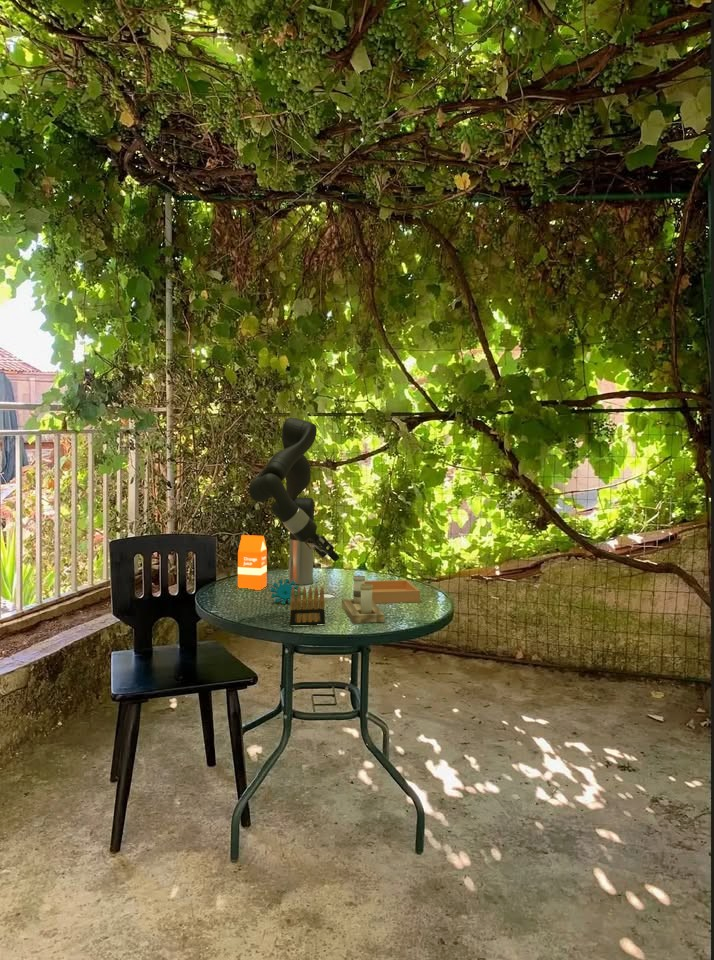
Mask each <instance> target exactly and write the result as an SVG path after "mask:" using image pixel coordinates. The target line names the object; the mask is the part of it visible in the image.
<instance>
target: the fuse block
mask: <svg viewBox="0 0 714 960" xmlns="http://www.w3.org/2000/svg"><path fill="white" fill-rule="evenodd" d="M342 607H343V608H342ZM341 608H342V609H343V611H344V610H345V611H344V612H345V614H346V613H347V614H346V615H348V616H349V617H348V616H347V617H348V619H349V618H350V619H349V620H350V622H351V621H352V622H351V623H352V624H353V623H355V624H364V623H363V622H366V623H365V624H368V623H367V622H384V623H385V613H384V612H383V611H382V610H381V608H380V607H379V606H378V605H377V604H375V603H374V601H373V600H372V614H360V610H361V604H353V598H352V599H351V598H347V599H346V598H344V599H341Z"/></svg>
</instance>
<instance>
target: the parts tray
mask: <svg viewBox="0 0 714 960" xmlns="http://www.w3.org/2000/svg"><path fill="white" fill-rule="evenodd" d="M365 584H372V585H373V589H372V600H373V601H374V603H375V604H376V605H377V604H400V603H399V602H411V603H421V590H420V589H419V588H418V587H416V585H414V584H413V583H412V582H410V581H409V580H408V579H399V580H398V579H397V580H395V579H393V580H391V579H390V580H388V579H387V580H365Z"/></svg>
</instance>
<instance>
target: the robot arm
mask: <svg viewBox="0 0 714 960" xmlns="http://www.w3.org/2000/svg"><path fill="white" fill-rule="evenodd" d="M316 437H317V426H316V424H315V423H313V422H311V421H308V420H304V419H300V418H295V417H289V418H288V417H287V419H285V420H284V422H283V425H282V430H281V440H282V444H283V446H282V447H283V449H282V450H279V451H277V452H276V453H275V454H273V455H272V457H271V458H270V459H269V460H268V462H267V464H266V465H265V466H264V468H263V470H261V471H260V472H259V473H258V474H257V475H256V476H255V477H254V478H253V479H252V480H251V482H250V484H249V485H248V494H249V496H250V498H251V500H252V501H255V502H257V503H262V502H265V501H267V500H269V499H271V498H273V499H274V501H273V502H272V504H271V512H272V513H273V515H274V516H275V517H277V518H278V519H279V521H280V522H281V523H282V524H283V525H284V527H285V528H286V529H287V530H288V531H289V547H288V548H289V557H288V579H289V583H288V584H290V583H291V582H292V581H294V582H295V585H296V584H299V585H298V586H300V585H301V586H302V585H305V586H306V585H311V584H313V583H314V551H315V553H317V554H318V555H319V556H320V558H322V559H324V558H325V557H326V556H328V557H329V558H330V559H331V560H332V561H333V562H335V563H336V562H337V561H338V560H339V559H340V556H339V555H338V553H337V552H336V551H335V547H334V546H333V545H332V544H331V543H330V542H329V540H327V538H325V536H323V535H320V534H319V533H318V534H317V530H318V525H317V524H316V523H315V521H314V518H315V501H314V499H313V498H312V497H301V496H300V494H301V493H302V492H304V490H305V489H307V488H308V486H309V484H310V483H311V479H312V478H311V477H312V476H311V472H312V468H311V463H310V462H309V460H308V459H307V457H306V456H305V453H307V452H308V451H309V449H310V448H312V446H313V444H314V443H315V440H316ZM284 480H285V485H286V487H285V485H284V483H283V481H284ZM298 496H300V497H298ZM327 548H328V549H327Z"/></svg>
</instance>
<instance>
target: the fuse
mask: <svg viewBox="0 0 714 960" xmlns="http://www.w3.org/2000/svg"><path fill="white" fill-rule="evenodd" d="M360 589H361V610H360V614H372V589H373V585H372V584H361V585H360Z"/></svg>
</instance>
